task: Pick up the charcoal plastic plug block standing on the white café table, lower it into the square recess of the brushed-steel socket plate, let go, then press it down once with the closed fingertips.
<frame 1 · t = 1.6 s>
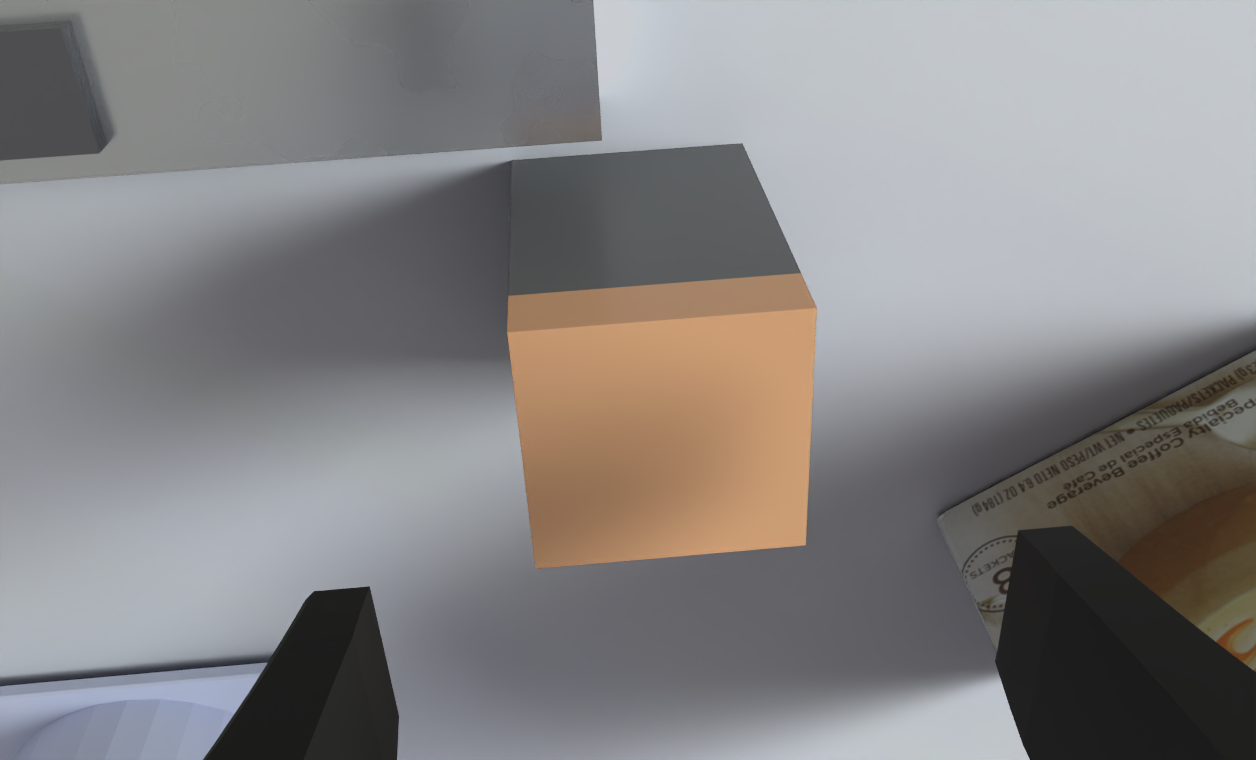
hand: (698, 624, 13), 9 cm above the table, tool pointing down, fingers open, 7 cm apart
coffee box: (1166, 499, 25), on the table
plug: (632, 255, 21), on the table
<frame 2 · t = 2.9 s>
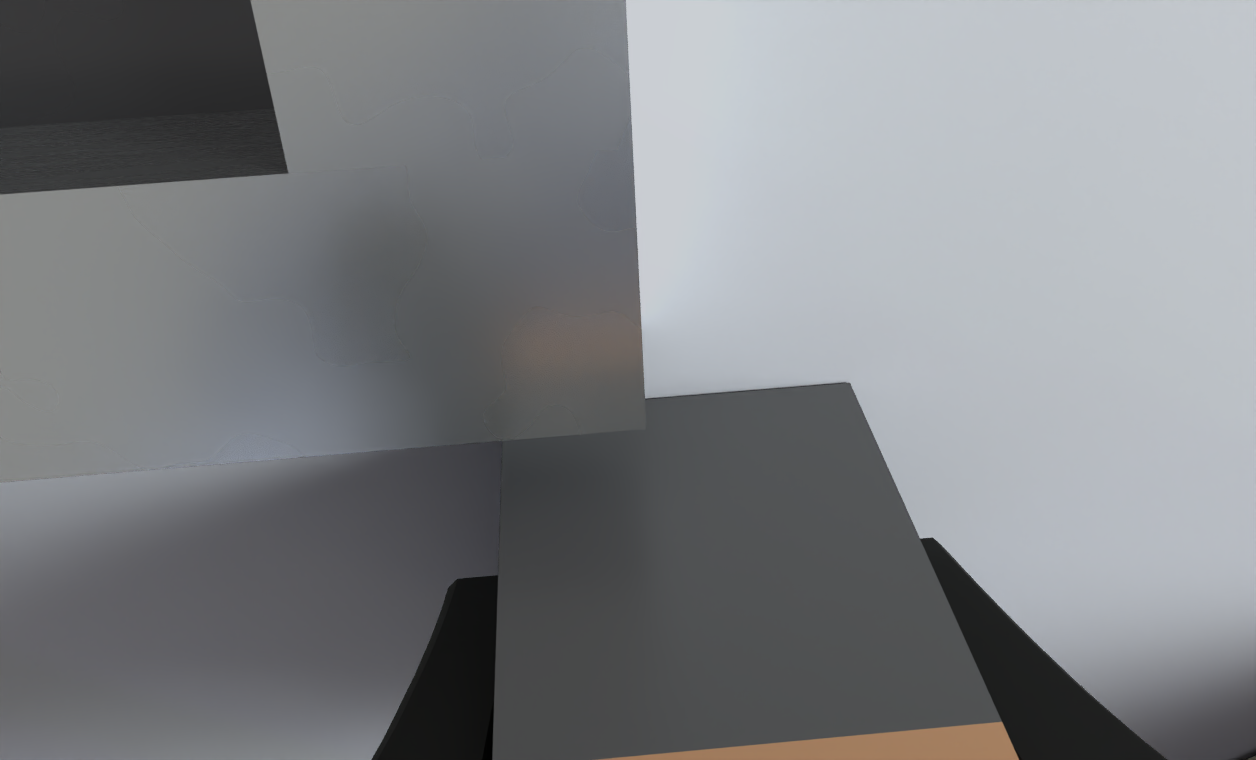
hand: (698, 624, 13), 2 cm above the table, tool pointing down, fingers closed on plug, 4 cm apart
plug: (681, 531, 14), on the table, touching gripper
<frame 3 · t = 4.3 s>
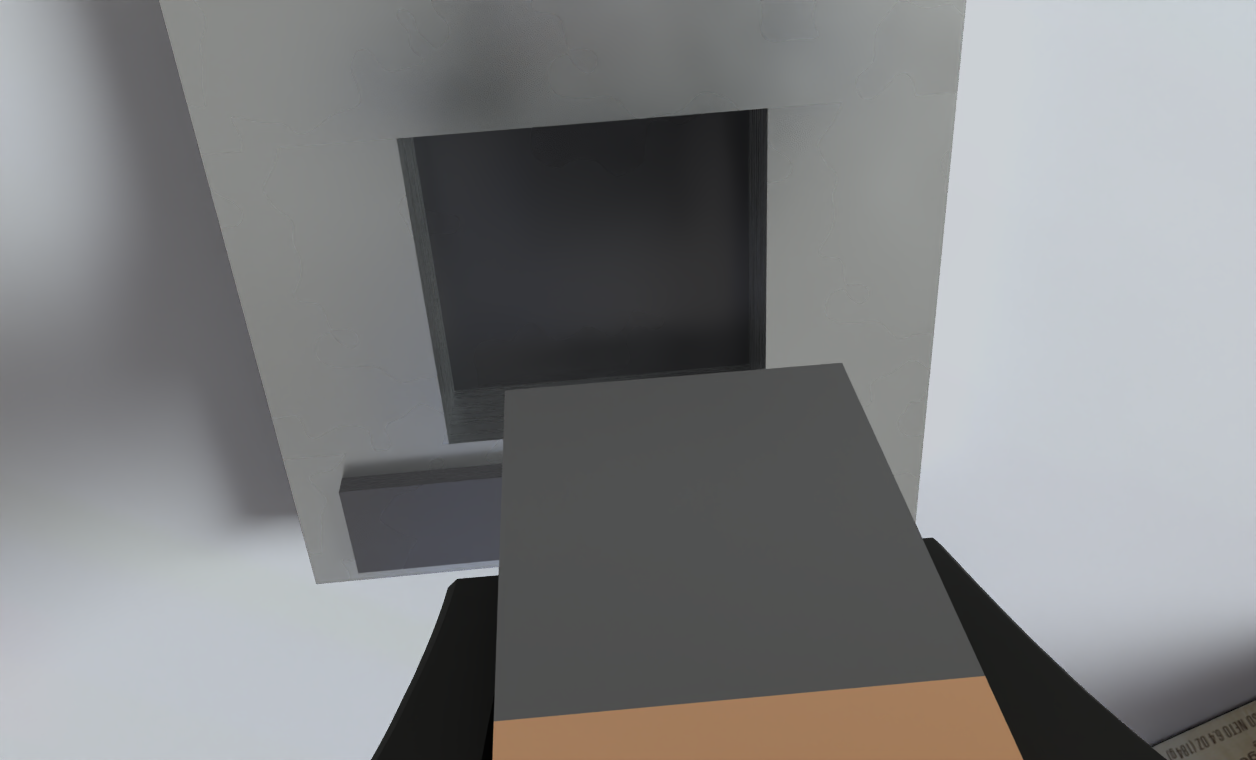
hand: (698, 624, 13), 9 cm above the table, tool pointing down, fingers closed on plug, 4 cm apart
socket plate: (590, 235, 20), on the table
plug: (678, 510, 15), point 7 cm above the table, touching gripper
when the fingers open (3 cm above the table, at t = 5.7 s): plug stays where it is, resting on socket plate.
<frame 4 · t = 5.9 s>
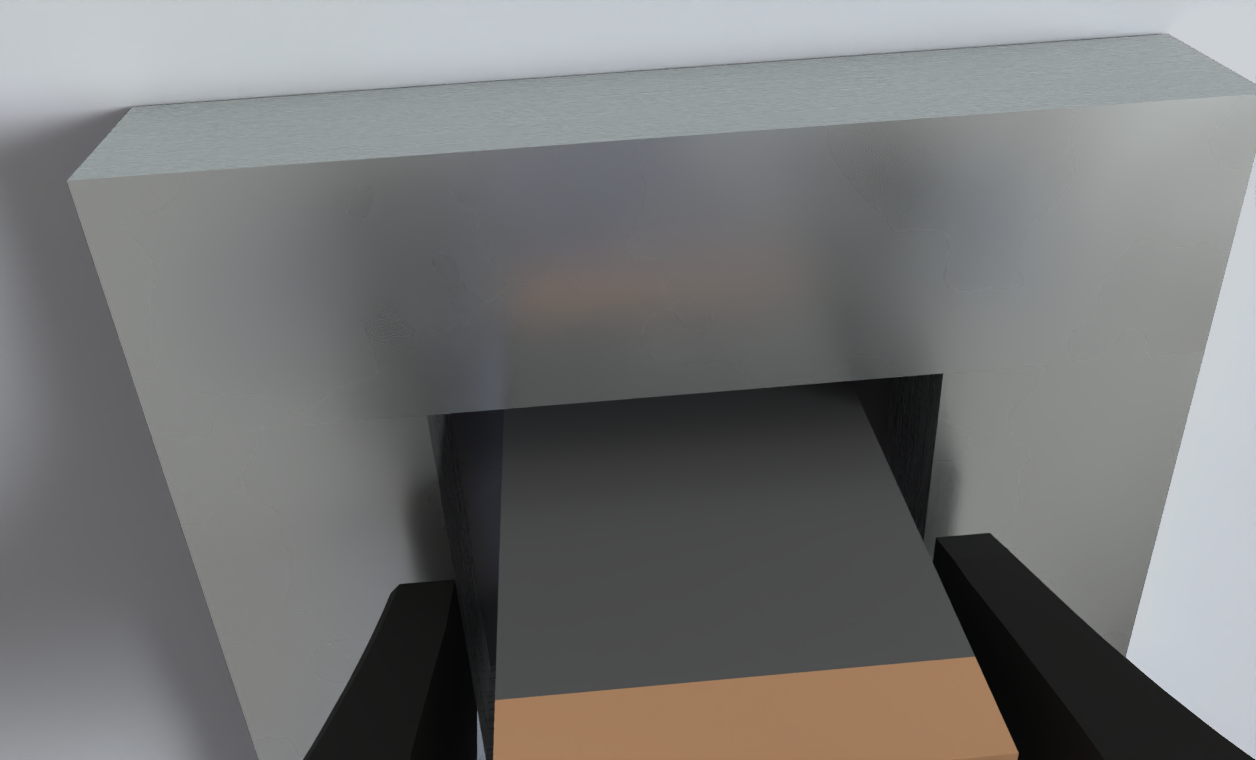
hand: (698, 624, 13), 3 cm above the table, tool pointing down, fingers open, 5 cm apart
socket plate: (673, 484, 15), on the table
plug: (676, 496, 15), resting on socket plate
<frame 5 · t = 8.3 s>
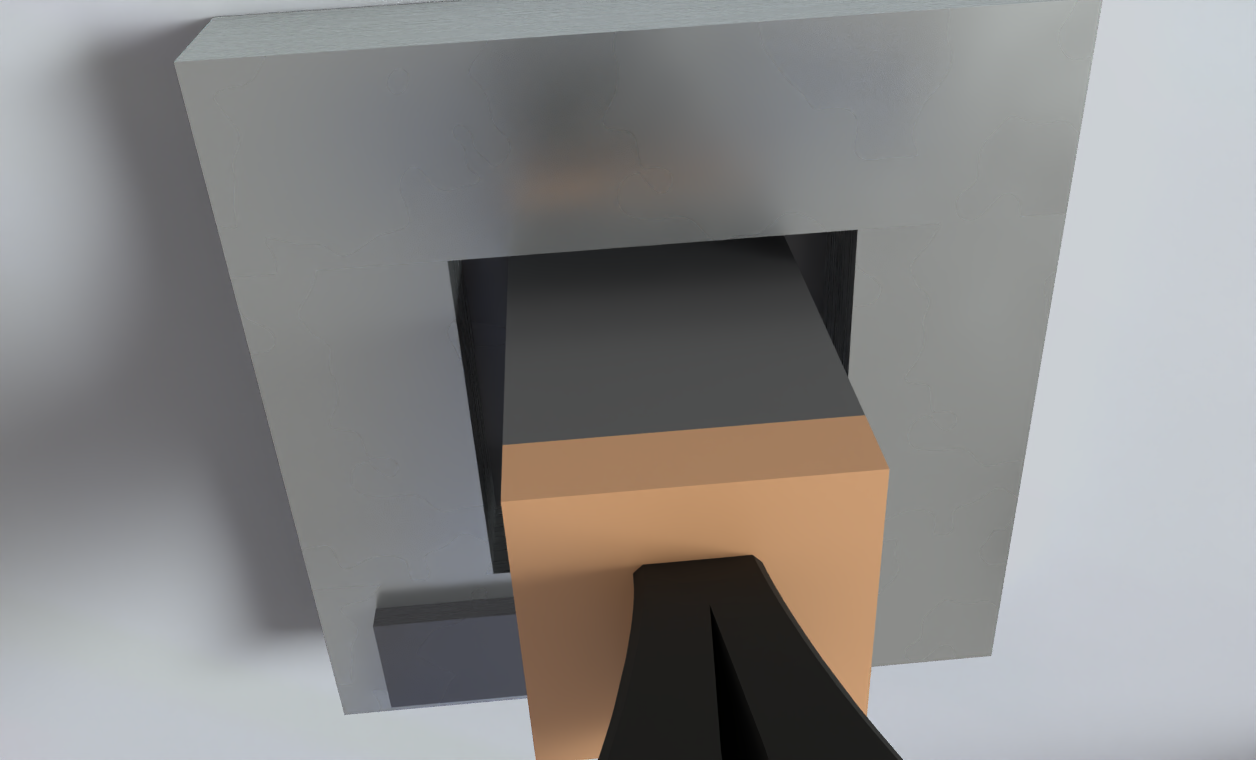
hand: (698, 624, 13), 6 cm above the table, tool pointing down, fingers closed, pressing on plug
socket plate: (648, 345, 18), on the table
plug: (650, 353, 18), resting on socket plate, touching gripper
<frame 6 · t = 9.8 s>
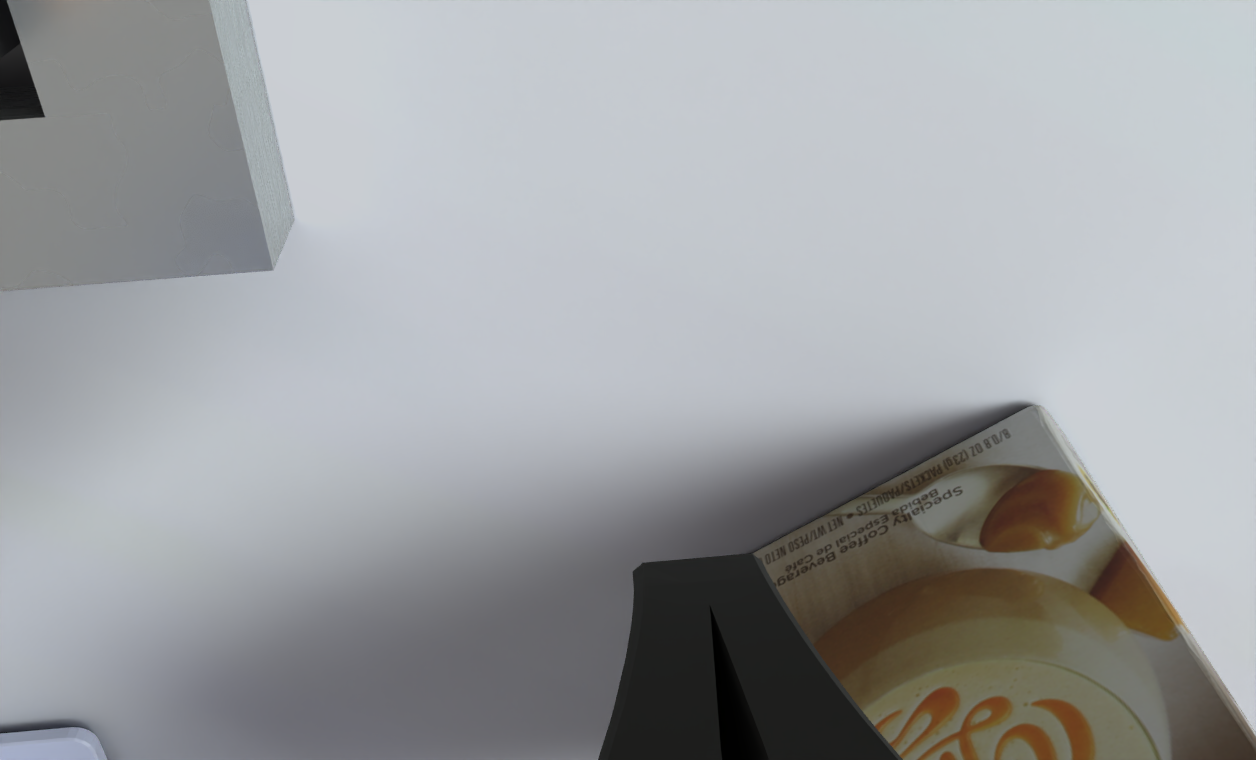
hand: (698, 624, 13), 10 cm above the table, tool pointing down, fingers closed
coffee box: (906, 574, 26), on the table
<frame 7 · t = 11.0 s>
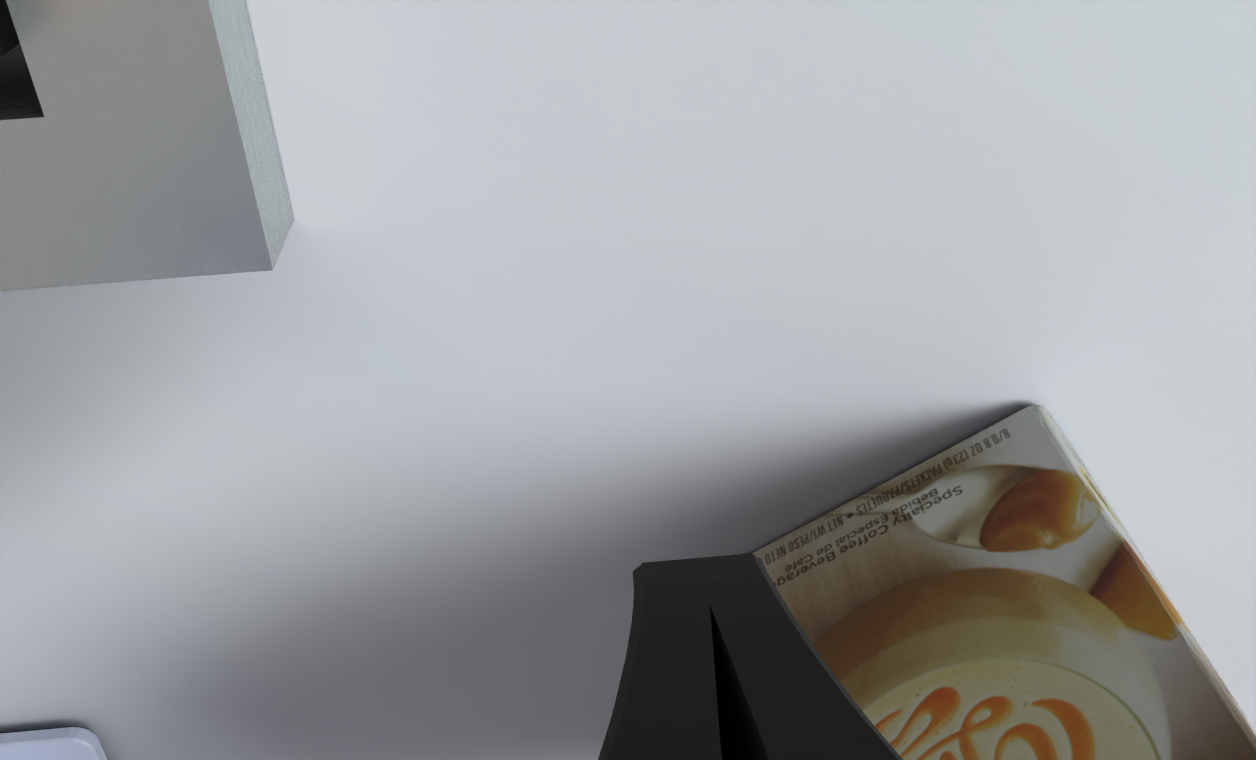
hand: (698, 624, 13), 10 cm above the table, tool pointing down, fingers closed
coffee box: (906, 574, 26), on the table
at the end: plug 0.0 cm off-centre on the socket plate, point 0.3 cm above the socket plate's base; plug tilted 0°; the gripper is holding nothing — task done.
